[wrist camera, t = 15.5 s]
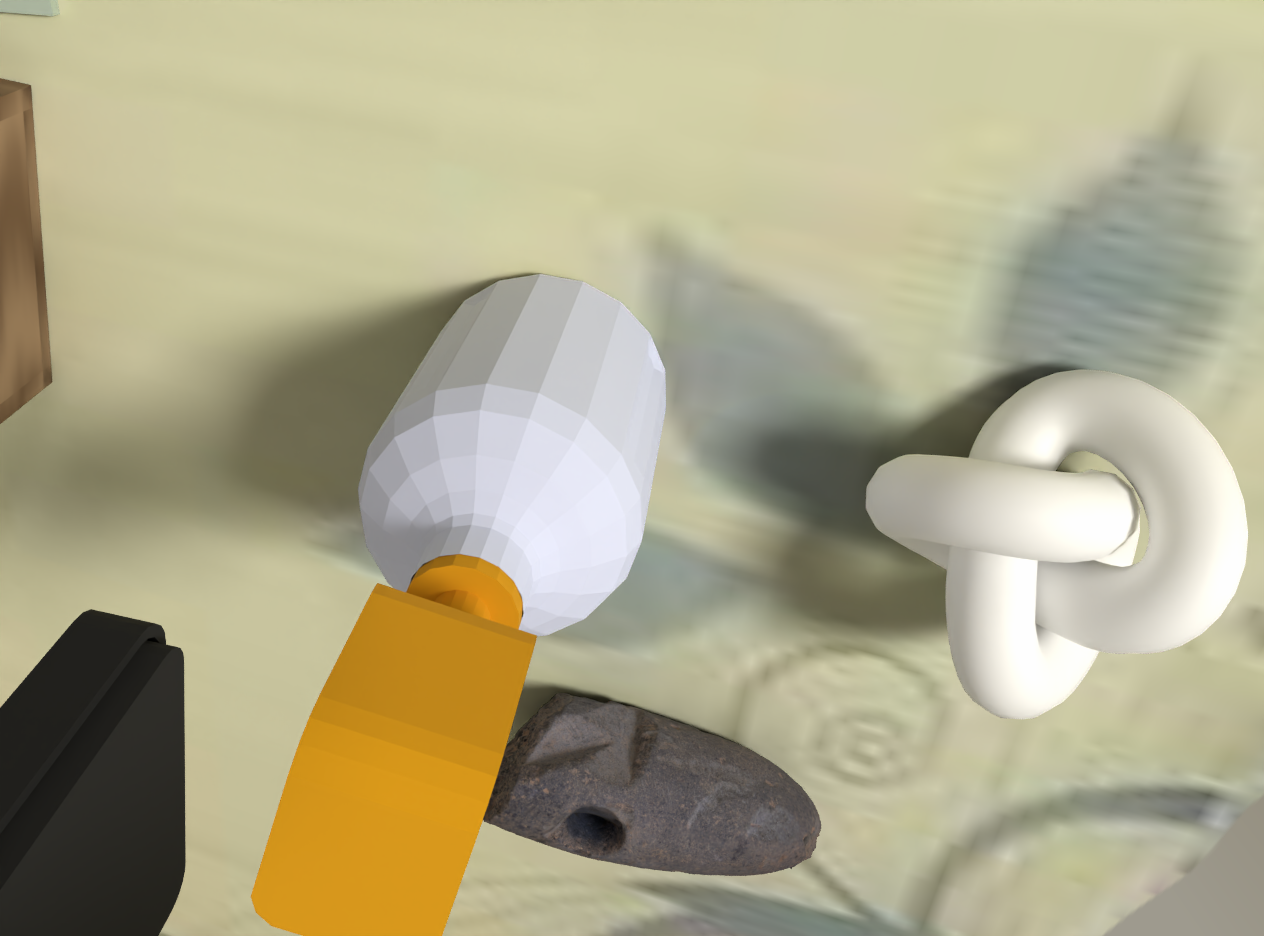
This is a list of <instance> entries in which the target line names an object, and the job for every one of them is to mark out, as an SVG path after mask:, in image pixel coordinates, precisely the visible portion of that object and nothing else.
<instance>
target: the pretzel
mask: <svg viewBox="0 0 1264 936" xmlns="http://www.w3.org/2000/svg"><path fill="white" fill-rule="evenodd" d="M1077 451H1088V452H1091V453H1094V454H1097V455H1099V456H1100V457H1102V458H1104V459H1106V460H1107V461H1109V462H1110V463H1112V464H1113V465H1114V466H1115V467H1116V468H1117V469H1118V470H1120V471H1121V472H1122V473H1123V474H1124V475H1125V477H1126V478H1127V479H1128V481H1129V482H1130V483H1131V484H1132V486H1133V487H1134V488H1135V490H1136V492H1137V494H1138V496H1139V498H1140V500H1141V502H1142V504H1143V506H1144V510H1145V513H1146V516H1147V519H1148V525H1149V541H1148V546H1147V549H1146V552H1145V555H1144V556H1143V558H1142V560H1141V561H1140V562H1138V563H1136V564H1133V565H1132V563H1133V559H1134V555H1135V551H1136V547H1137V543H1138V538H1139V532H1140V527H1139V518H1140V509H1141V507H1140V505H1139V503H1138V500H1137V498H1136V495H1135V493H1134V490H1133V488H1132V487H1131V486H1129V485H1128V484H1127V483H1126V482H1124V481H1123V480H1122V479H1121V478H1119V477H1118V476H1117V475H1116V474H1113V473H1108V472H1102V471H1097V470H1092V469H1091V470H1088V471H1084V472H1081V473H1068V472H1056V469H1057V468H1058V466H1059V465H1060V464H1061V462H1062V461H1063V460H1064V459H1065V458H1066V457H1067V456H1068V455H1069V454H1070V453H1073V452H1077ZM866 510H867V512H868V514H869V516H870V517H871V519H872V521H873V523H874V525H875V527H876V528H877V529H878V530H879V531H880V532H882V533H883V534H885V535H886V536H888V537H890V538H891V539H893V540H895V541H896V542H898V543H900V544H901V545H903V546H905V547H907V548H908V549H910V550H912V551H914V552H916V553H918V554H920V555H921V556H923V557H925V558H927V559H928V560H930V561H932V562H934V563H935V564H937V565H939V566H940V567H942V568H944V569H946V570H947V575H946V620H947V631H948V638H949V645H950V650H951V655H952V659H953V663H954V666H955V669H956V672H957V676H958V678H959V680H960V682H961V684H962V686H963V688H964V690H965V692H966V693H967V694H968V695H969V696H970V698H971V699H972V700H973V701H974V702H976V703H977V704H978V705H980V706H981V707H983V708H984V709H986V710H987V711H989V712H990V713H992V714H994V715H996V716H998V717H1000V718H1011V719H1031V718H1035V717H1037V716H1039V715H1041V714H1043V713H1045V712H1046V711H1048V710H1050V709H1052V708H1053V707H1055V706H1057V705H1059V704H1060V703H1062V702H1063V701H1064V700H1065V699H1066V698H1067V697H1068V696H1069V695H1071V694H1072V693H1073V692H1074V690H1075V689H1076V688H1077V686H1078V685H1079V684H1080V682H1081V681H1082V680H1083V678H1084V677H1085V676H1086V674H1087V672H1088V671H1089V669H1090V667H1091V666H1092V664H1093V662H1094V661H1095V659H1096V657H1097V655H1098V653H1099V651H1101V652H1105V653H1115V654H1127V653H1139V654H1149V653H1157V652H1164V651H1167V650H1170V649H1173V648H1176V647H1179V646H1182V645H1183V644H1185V643H1187V642H1189V641H1190V640H1192V639H1194V638H1196V637H1197V636H1199V635H1201V634H1202V633H1203V632H1204V631H1205V630H1206V629H1207V628H1208V627H1209V626H1210V625H1212V624H1213V623H1214V622H1215V621H1216V620H1217V619H1218V618H1219V617H1220V616H1221V614H1222V613H1223V611H1224V610H1225V608H1226V607H1227V605H1228V603H1229V602H1230V600H1231V599H1232V597H1233V596H1234V594H1235V592H1236V590H1237V587H1238V584H1239V581H1240V578H1241V575H1242V572H1243V570H1244V567H1245V561H1246V551H1247V541H1248V528H1247V520H1246V512H1245V504H1244V499H1243V496H1242V493H1241V491H1240V488H1239V485H1238V482H1237V479H1236V476H1235V473H1234V470H1233V468H1232V466H1231V465H1230V463H1229V461H1228V459H1227V458H1226V456H1225V454H1224V453H1223V451H1222V449H1221V447H1220V446H1219V444H1218V442H1217V440H1216V439H1215V438H1214V437H1213V436H1212V434H1211V433H1210V432H1209V431H1208V430H1207V429H1206V428H1205V426H1204V425H1203V424H1202V423H1201V422H1200V421H1199V419H1198V418H1197V417H1196V416H1195V415H1194V414H1193V413H1192V412H1190V411H1189V410H1188V409H1187V408H1185V407H1184V406H1183V405H1181V404H1180V403H1179V402H1178V401H1176V400H1175V399H1174V398H1173V397H1171V396H1170V395H1169V394H1167V393H1165V392H1163V391H1161V390H1159V389H1157V388H1155V387H1153V386H1151V385H1149V384H1147V383H1145V382H1143V381H1142V380H1138V379H1134V378H1131V377H1127V376H1124V375H1120V374H1117V373H1113V372H1108V371H1099V370H1084V369H1079V370H1072V371H1065V372H1057V373H1054V374H1051V375H1049V376H1046V377H1043V378H1040V379H1037V380H1035V381H1034V382H1032V383H1030V384H1028V385H1027V386H1025V387H1023V388H1021V389H1020V390H1019V391H1018V392H1016V393H1015V394H1014V395H1013V396H1012V397H1010V398H1009V399H1008V400H1006V401H1005V402H1004V403H1003V404H1002V405H1001V406H1000V407H999V408H998V409H997V410H996V411H995V412H994V413H993V414H992V415H991V416H990V418H989V419H988V420H987V421H986V423H985V424H984V426H983V427H982V429H981V431H980V432H979V434H978V436H977V438H976V440H975V442H974V444H973V447H972V449H971V452H970V455H969V458H963V457H954V456H940V455H923V454H911V455H903V456H900V457H897V458H895V459H893V460H891V461H890V462H888V463H886V464H884V465H882V466H880V467H879V468H878V469H877V471H876V473H875V474H874V476H873V477H872V479H871V480H870V482H869V483H868V485H867V488H866Z"/></svg>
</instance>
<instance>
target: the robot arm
mask: <svg viewBox="0 0 1264 936" xmlns="http://www.w3.org/2000/svg"><path fill="white" fill-rule="evenodd" d="M184 872H185V733H184V657H183V652H182V650H181V648H178V647H174V646H170V645H166V639H165V632H164V630H163V628H162V626H161V625H158V624H155V623H150V622H146V621H141V620H137V619H132V618H128V617H123V616H119V615H114V614H110V613H105V612H101V611H96V610H92V609H91V610H88V611H86V612H83V613H82V614H81V615H80V616H79V617H78V618H77V619H76V620H75V621H74V622H73V623H72V624H71V625H70V626H69V628H68V629H67V630H66V631H65V632H64V633H63V635H62V636H61V637H60V638H59V639H58V641H57V642H56V643H55V644H54V645H53V646H52V648H51V649H50V650H49V651H48V652H47V653H46V655H45V656H44V657H43V658H42V659H41V661H40V662H39V663H38V664H37V665H36V666H35V668H34V669H33V670H32V671H31V672H30V673H29V675H28V676H27V677H26V678H25V679H24V681H23V682H22V683H21V684H20V685H19V686H18V688H17V689H16V690H15V691H14V692H13V693H12V695H11V696H10V697H9V698H8V699H7V701H6V702H5V703H4V704H3V705H2V706H1V708H0V936H158V935H159V933H160V932H161V930H162V928H163V926H164V924H165V922H166V921H167V919H168V917H169V915H170V913H171V911H172V909H173V907H174V905H175V903H176V900H177V897H178V895H179V892H180V889H181V885H182V882H183V877H184Z"/></svg>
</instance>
